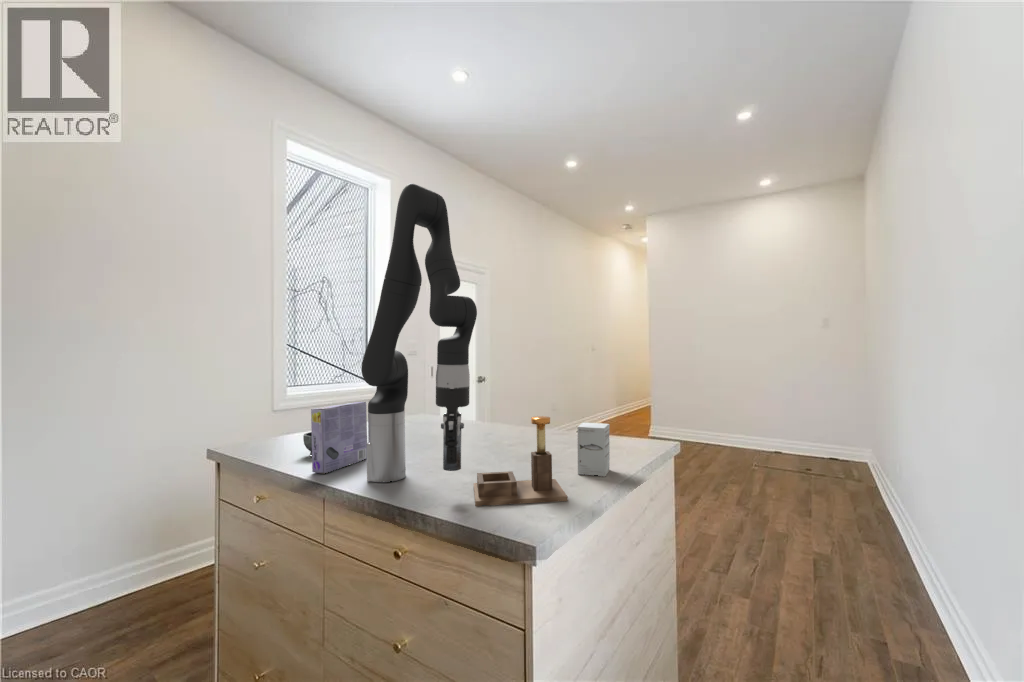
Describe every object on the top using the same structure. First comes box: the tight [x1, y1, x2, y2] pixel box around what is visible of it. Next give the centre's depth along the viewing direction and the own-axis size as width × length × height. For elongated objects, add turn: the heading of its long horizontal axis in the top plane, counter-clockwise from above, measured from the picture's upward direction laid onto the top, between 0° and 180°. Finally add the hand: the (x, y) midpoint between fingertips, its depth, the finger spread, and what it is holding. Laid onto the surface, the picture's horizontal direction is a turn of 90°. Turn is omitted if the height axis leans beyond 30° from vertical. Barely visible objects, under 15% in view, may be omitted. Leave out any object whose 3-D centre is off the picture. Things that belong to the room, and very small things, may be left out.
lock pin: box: [530, 415, 551, 455], centre depth 106 cm, size 4×4×10 cm
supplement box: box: [577, 422, 611, 477], centre depth 122 cm, size 7×7×13 cm
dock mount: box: [473, 450, 569, 507], centre depth 106 cm, size 20×13×9 cm, turn 96°
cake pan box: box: [310, 401, 368, 475], centre depth 133 cm, size 19×5×18 cm, turn 159°
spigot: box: [440, 422, 465, 472], centre depth 104 cm, size 5×5×10 cm
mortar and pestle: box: [303, 431, 312, 456], centre depth 147 cm, size 11×9×12 cm
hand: (452, 460), depth 104 cm, fingers closed on spigot, 4 cm apart
